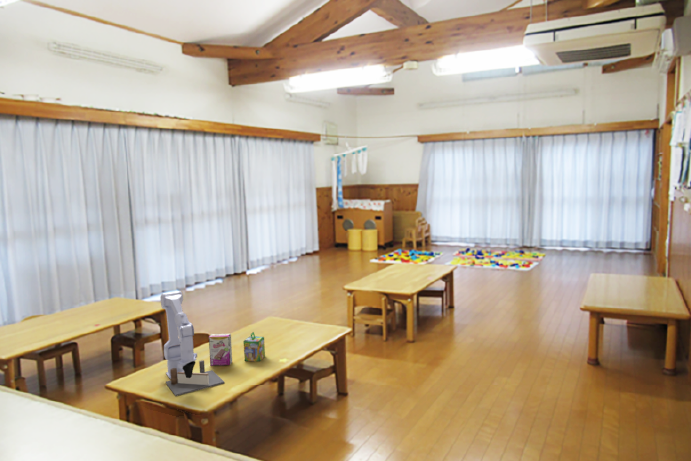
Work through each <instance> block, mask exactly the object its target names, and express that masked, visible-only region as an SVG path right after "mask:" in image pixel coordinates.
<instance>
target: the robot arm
mask: <svg viewBox="0 0 691 461" xmlns="http://www.w3.org/2000/svg"><path fill="white" fill-rule="evenodd" d="M183 300H184V296H183V292H182V291H181V290H177V291H171V292H165V293H164V292H163V293H161V294H160V306H161V309H163V310H165V314H166V321H167V322H166V324H167V333H168V340H167V341H166V343H165V344H164V345H163V355H164V359H165V360H166V362H167V365H166V366H167V372H166V373H165V374H166V375H167V377H168V378H169V379H170V380H171V373H170V369H172V368H177V372H184V373H185V375H186V378H191V377H192V373H194V372H193V371H194V367H195V365H196V360H197V358H198V352H197V353H195V352H194V340H193V339H194V337H193V336H195V328H194V325H193V323H192V322H190V321H189V317H188V315H187V313H185V312H183V308H182V307H183V306H182V304H183ZM177 378H178V374H177Z"/></svg>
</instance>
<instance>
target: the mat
mask: <svg viewBox="0 0 691 461" xmlns="http://www.w3.org/2000/svg"><path fill="white" fill-rule="evenodd" d="M205 373H208V374H209V375H208V376H209V385H201V384H184V383H177V384H175V385H172V384H171V379H170V380H167V381H165V384H166V385H167V387H168V388H169V389H170V390H171V392H172V394H173V395H174V396H175V397H178V396H182V395H185V394H190V393H194V392H198V391H201V390H204V389H208V388H211V387H212V388H213V387H216V386H220V385H223V384H225V380H224V379H223V378H222V377H220V376H219V375H218V374H217V373H216V372H215V371H214V370H213V369H211V370H207V371H206V370H205Z"/></svg>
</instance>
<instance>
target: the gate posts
mask: <svg viewBox="0 0 691 461" xmlns="http://www.w3.org/2000/svg"><path fill="white" fill-rule="evenodd" d="M198 364H199V373H205V372H206V369H205V367H206V366H205V360H203V359H201V360H199V361H198ZM170 373H171V379H170V380H171V384H172V385H175V384H177V383H178V377H177V368H172V369H170Z"/></svg>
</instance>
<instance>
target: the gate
mask: <svg viewBox="0 0 691 461" xmlns="http://www.w3.org/2000/svg"><path fill="white" fill-rule="evenodd" d="M177 374H178V377H177V379H178V383H184V384H201V385H209V376H208V375H209V374H208V373H200V372H192V377H191V378H186V375H185V373H184V372H177Z"/></svg>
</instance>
